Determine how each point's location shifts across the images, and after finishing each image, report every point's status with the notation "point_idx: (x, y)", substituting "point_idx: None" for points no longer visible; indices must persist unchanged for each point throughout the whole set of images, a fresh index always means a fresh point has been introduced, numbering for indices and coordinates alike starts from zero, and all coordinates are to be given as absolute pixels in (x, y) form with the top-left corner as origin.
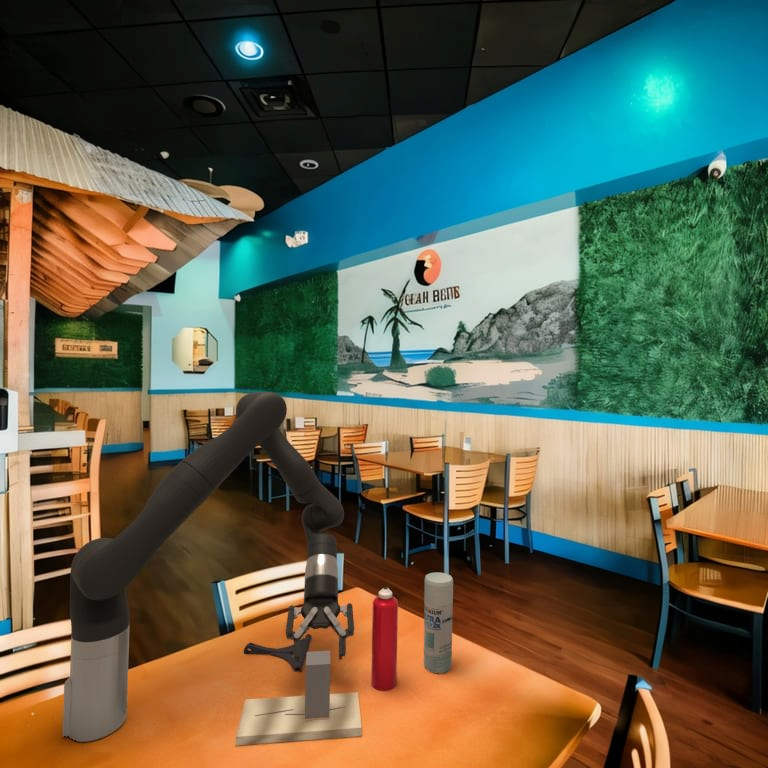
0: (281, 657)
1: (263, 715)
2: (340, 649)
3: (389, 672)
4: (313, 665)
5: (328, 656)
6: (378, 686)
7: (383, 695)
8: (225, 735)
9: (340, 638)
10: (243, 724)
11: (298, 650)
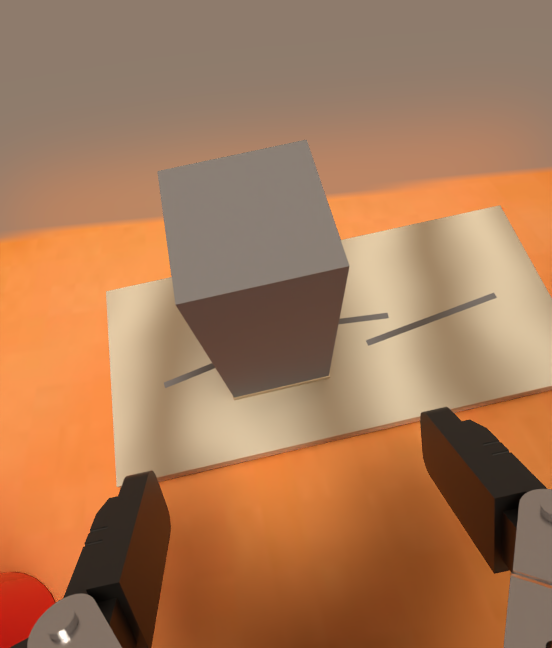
0: None
1: (465, 300)
2: (131, 500)
3: None
4: (260, 150)
5: (178, 238)
6: (22, 578)
7: (15, 537)
8: (547, 253)
9: (108, 574)
10: (509, 252)
11: (457, 435)
